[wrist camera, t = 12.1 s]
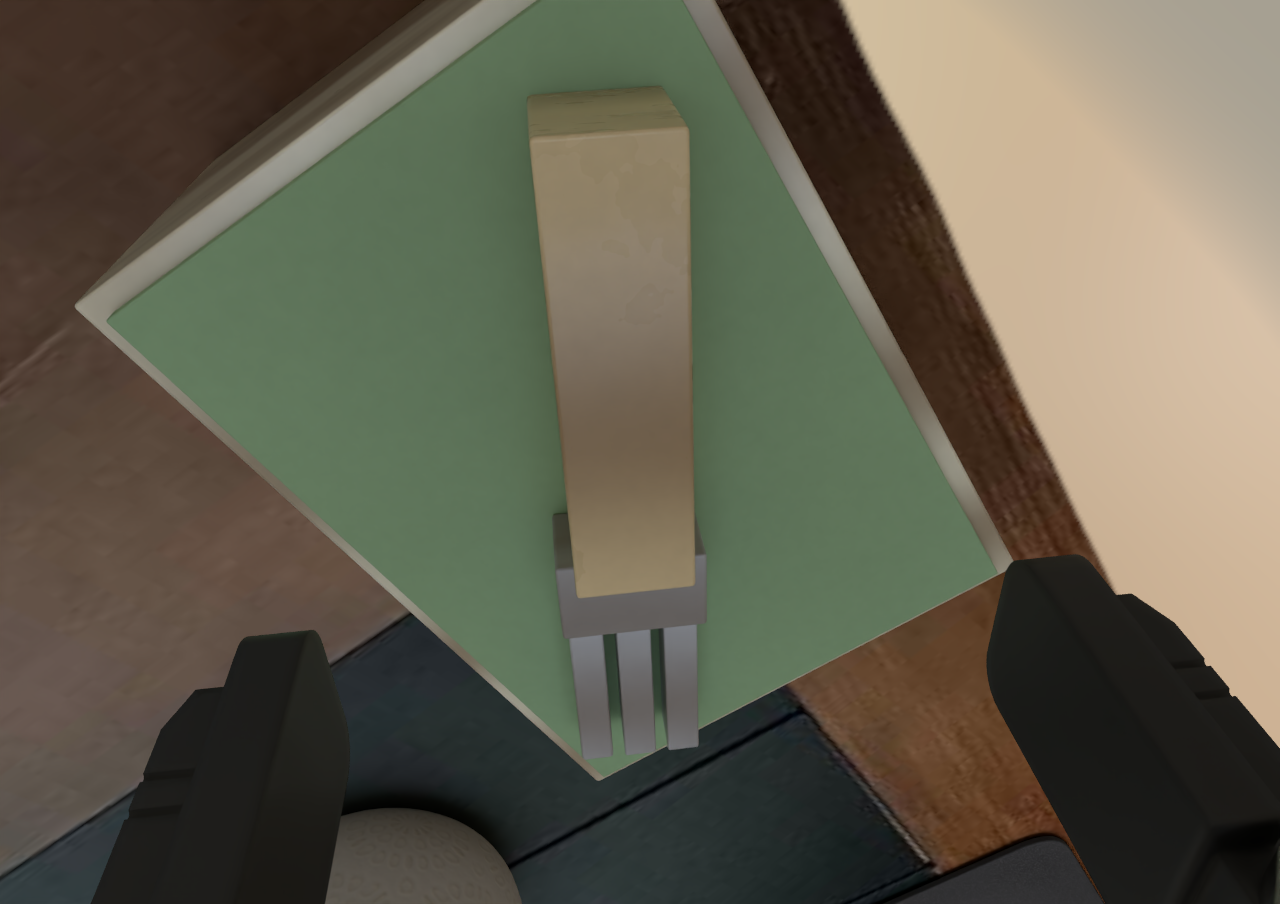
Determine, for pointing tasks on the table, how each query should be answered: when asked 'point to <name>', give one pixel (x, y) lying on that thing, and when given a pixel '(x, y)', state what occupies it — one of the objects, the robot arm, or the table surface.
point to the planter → (415, 861)
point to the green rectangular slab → (524, 385)
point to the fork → (622, 402)
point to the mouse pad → (1013, 879)
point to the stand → (366, 88)
